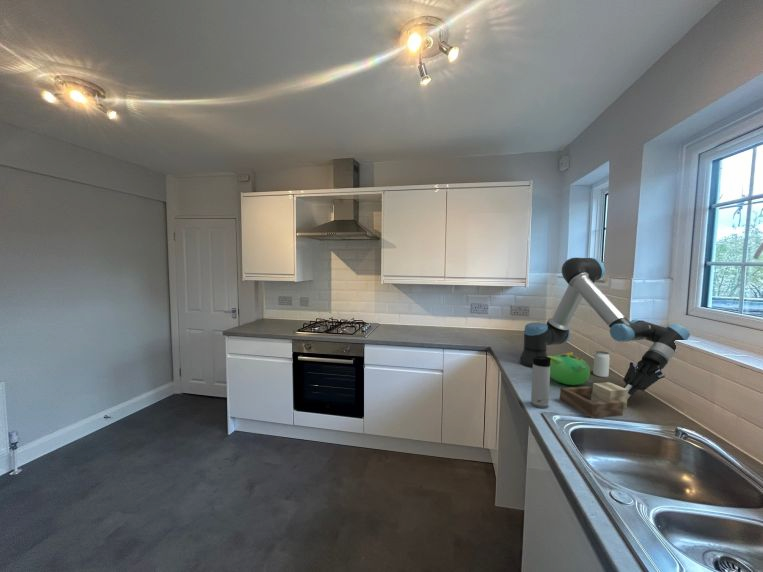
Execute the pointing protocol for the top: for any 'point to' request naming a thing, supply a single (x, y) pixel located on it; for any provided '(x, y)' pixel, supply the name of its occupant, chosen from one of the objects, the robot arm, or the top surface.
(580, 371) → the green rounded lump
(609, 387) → the block
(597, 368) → the can
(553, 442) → the top surface
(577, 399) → the wooden tray
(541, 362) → the travel mug
